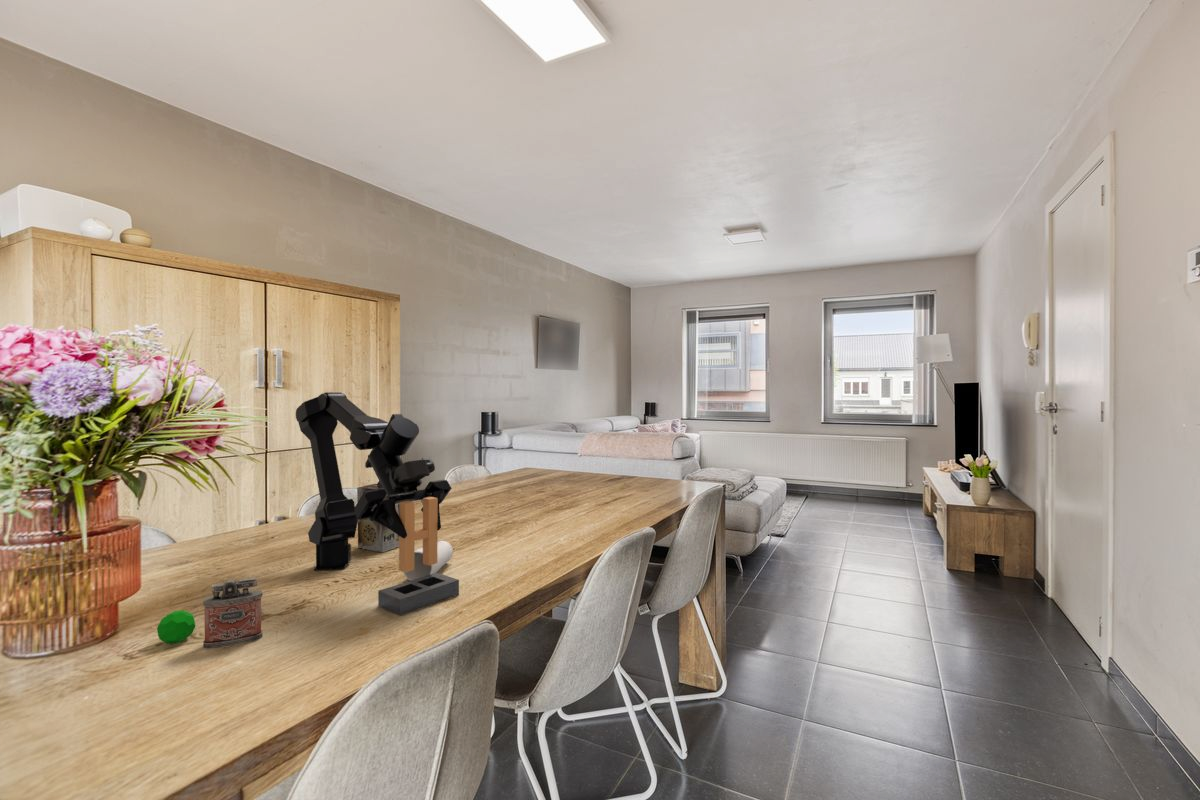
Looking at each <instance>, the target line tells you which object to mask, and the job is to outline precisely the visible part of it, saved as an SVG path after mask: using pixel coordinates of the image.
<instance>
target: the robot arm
mask: <svg viewBox="0 0 1200 800" xmlns="http://www.w3.org/2000/svg"><path fill="white" fill-rule="evenodd" d="M295 419H296V421H297V423H298V427H299V430H300V432H301V433H302V434H303V435H304V436H305V437H306V438H307V439H308V440H309V443H310V448H311V453H312V454H311V455H312V459H313V464H314V470H315V477H316V481H317V488H318V492H319V493H318V494H319V499H320V501H319V503H318V504H317V507H316V510H315V511H314V519H315V520H314V522H313V524H312V525H311V527H310V529H309V531H308V533H307V534H308V541H309V542H310V543H312V544H315V566H314V567H313V571H329V570H331V571H332V570H343V569H345V568H347V566H348V565H349V563H350V562H351V560H352V559H351V558H352V557H351V555H352V554H351V551H352V550H351V549H352V548H351V547H352V545H351V543H349V539H352V538H353V539H354V538H356V537H355V536H356V532H357V529H358V519H359V520H362V519H367V518H369V519H370V521H376V522H378V523H380V524H381V525H383V526H385V527H387V528H388V529H390V530H391V531H393V532H394V533H396V534H397V535H399V536H400V537H402V538H406V537H407V532H406V530H405V527H404V525H403V523H402V521H401V519H400V517H399V515H398V513H397V511H396V507H395V505H396V504H399V502H404V501H412V502H418V501H420V502H421V503H422V505H423V498H427V497H435V498H438V522H437V532H438V531H440V530H441V528H442V524H441V523H442V522H441V514H440V505H441V504H442V503H443V501H444V500H445V499H446V497H447V496H448V494H449V493H450V492H451V490H452V489H453V488H452V486H451V484H450V483H449V481H448V480H446V479H439V480H431V481H429V482H428V483H427V485H426V487H424V489H418V487H420V486H421V485H422V483H423V481H422V480H423V478H426V477H429V476H430V474H431V473H433V472H434V471H435V469H436V467H435V464H434V460H433V459H432V458H431V457H430V456H425V457H422V458H421V459H418V460H417V459H416V460H409V461H405V462H404V461H403V459H402V457H401V456H404V455H405V454H407V453H408V451H409V450H410V448H411V446H412V445H413V443H414V442H415V440H416V439H417V436H418V435H419V433H420V428H419V426H418V424H417V423H415V422H414V421H412V420H411V419H410V418H406V417H404V416H403V414H402V413H393V414H392V415H390V419H389V421H388V422H387V420H384V419H381V418H379V417H375V416H374V417H373V416H369V415H368V414H367V413H365V412H364V411H363V410H361V408H359V407H358V406H357V405H356V404H354V403H353V402H352V401H351V400H349V399H348V397H347V395H346V394H345V393H342V392H340V391H339V392H337V391H336V392H331V391H330V392H329V391H328V392H324V393H321V394H319V395H318V396H316V397H314V398H311V399H308V400H306V401H304V402H302V403H301V404H300V405H299V406H298V407H297V408H296V410H295ZM338 422H339V423H340V424H341V425H342V426H343V427H345V428H346V429H347V430H348V432H349V433H350V435H349V440H350V442H351V443H352V444H353V445H354V447H355V448H356V449H357V450H358V451H367V450H371V451H370V453H369V454H368V455H367V459H366V461H365V464H364V466H365V468H366V469H371V468H372V469H373V472H374V474H375V475H376V477H377V479H378V481H377V483H376V484H377V487H378V489H376V490H370V491H364V493H363V494H362V496H361V498H360V499H359V501H358V503H357V502H356V504H355V501H354V499H353V498H348V497H347V496H346V495H345V494H344V491H343V484H342V480H341V475H340V470H339V464H338V459H337V458H338V457H337V453H336V448H335V443H334V438H333V437H334V433H335V430H336V428H337V426H338ZM379 488H383V489H379ZM420 511H421V512H422V513H423V506H422V507H421V508H420Z"/></svg>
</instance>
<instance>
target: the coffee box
mask: <svg viewBox="0 0 1200 800" xmlns="http://www.w3.org/2000/svg"><path fill="white" fill-rule="evenodd" d="M376 489H378V487H377V483H373V484H367V485H363V486H359V487H357V488H356V494H357V497H356V498H357V499H356V500H357V502H356V504H357V503H358V501H359V499H360V498H361V496H362V494H363V493H364V491H370V490H376ZM379 489H383V488H379ZM395 507H396V511H397V513H398V515H399V504H396V505H395ZM396 547H398V548H399V535H397V534H396V533H394V532H393V531H391V530H390V529H388V528H387V527H385V526H383V525H381V524H380V523H378V522H376V521H370V519H369V518H367V519H362V520H359V519H358V523H357V549H358V548H362V549H361V550H365V549H367V550H366V551H372V550H374V551H373V552H378V551H379V552H378V553H384V552H387V551H391V550H394V549H397V548H396Z"/></svg>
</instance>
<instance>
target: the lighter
mask: <svg viewBox="0 0 1200 800" xmlns="http://www.w3.org/2000/svg"><path fill="white" fill-rule="evenodd" d="M257 586H258V579H257V578H256V577H252V578H244V579H240V580H239V581H236V579H233V578H231V579H227V580H226V582H222V583H214V584H212V585H211V592H212V595H213V596H212V595H211V596H209V597H206V598H204V599H202V605H203V607H204V639H203V645H202V647H203V649H205V650H211V649H221V648H225V647H226V648H227V647H233V646H238V645H242V644H243V645H244V644H248V643H252V642H256V641H259V640H260V639H262V638H263V636H264V635H263V630H262V598H263V591H262V590H261V589H258V590H249V588H250V589H251V588H256V587H257ZM241 590H242V591H241ZM220 592H221V593H220Z"/></svg>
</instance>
